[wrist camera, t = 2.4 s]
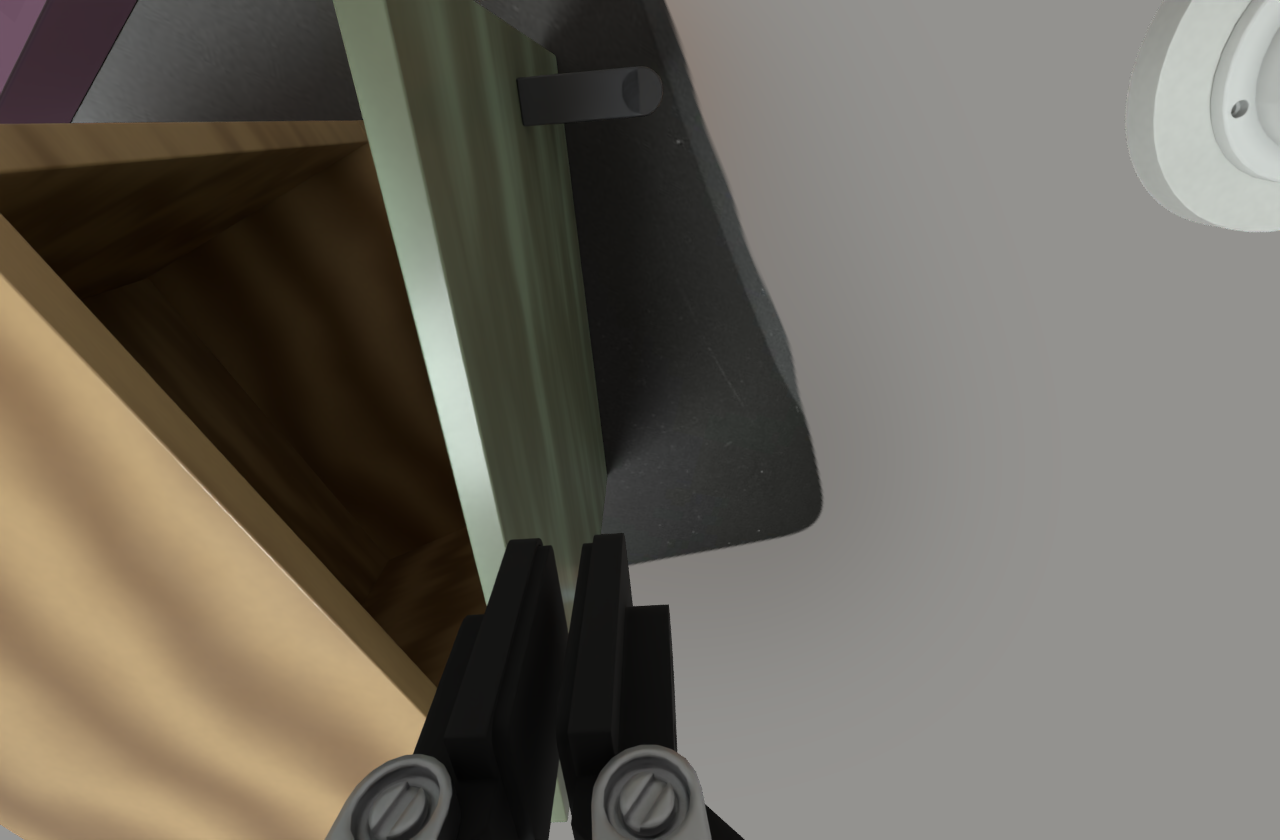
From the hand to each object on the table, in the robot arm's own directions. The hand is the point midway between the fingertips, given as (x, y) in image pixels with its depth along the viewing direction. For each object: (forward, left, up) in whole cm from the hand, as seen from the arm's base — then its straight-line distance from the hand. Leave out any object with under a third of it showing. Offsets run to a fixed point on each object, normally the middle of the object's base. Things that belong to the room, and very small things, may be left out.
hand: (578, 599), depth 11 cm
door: (+1, +2, -29) cm, 29 cm away
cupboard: (+19, 0, -29) cm, 34 cm away
